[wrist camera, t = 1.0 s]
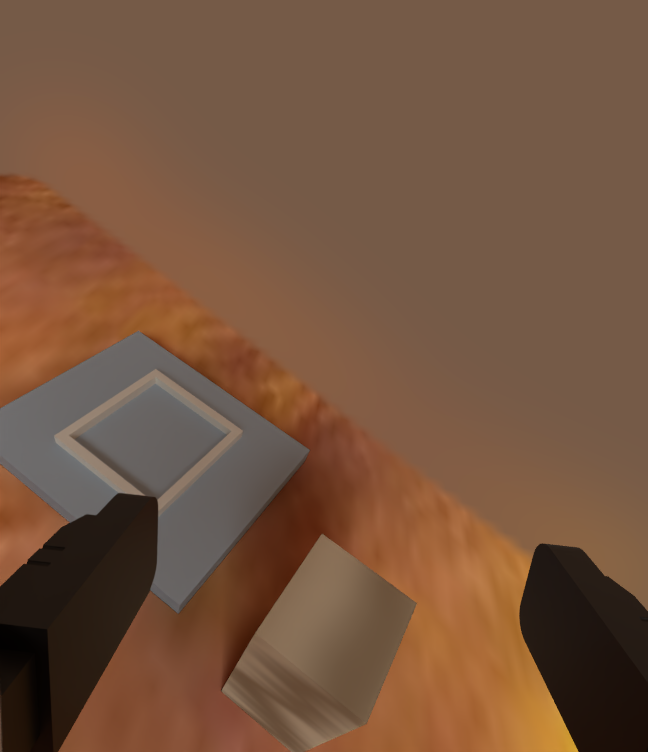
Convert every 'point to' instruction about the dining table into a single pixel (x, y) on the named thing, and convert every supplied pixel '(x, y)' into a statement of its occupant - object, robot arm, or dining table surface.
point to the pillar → (321, 650)
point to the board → (151, 454)
